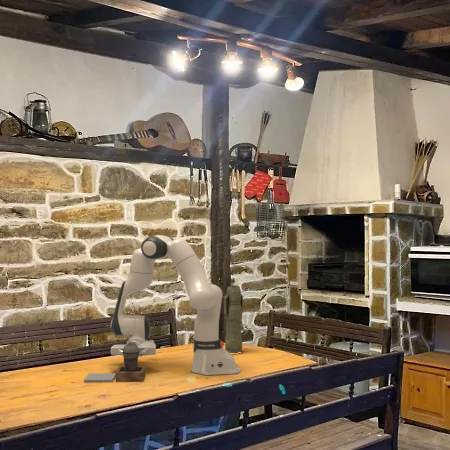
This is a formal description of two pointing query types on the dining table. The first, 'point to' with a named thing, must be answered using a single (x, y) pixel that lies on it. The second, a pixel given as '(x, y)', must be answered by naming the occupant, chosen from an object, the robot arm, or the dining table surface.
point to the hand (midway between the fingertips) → (132, 353)
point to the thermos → (233, 319)
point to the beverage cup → (130, 356)
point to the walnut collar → (130, 375)
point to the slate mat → (100, 377)
